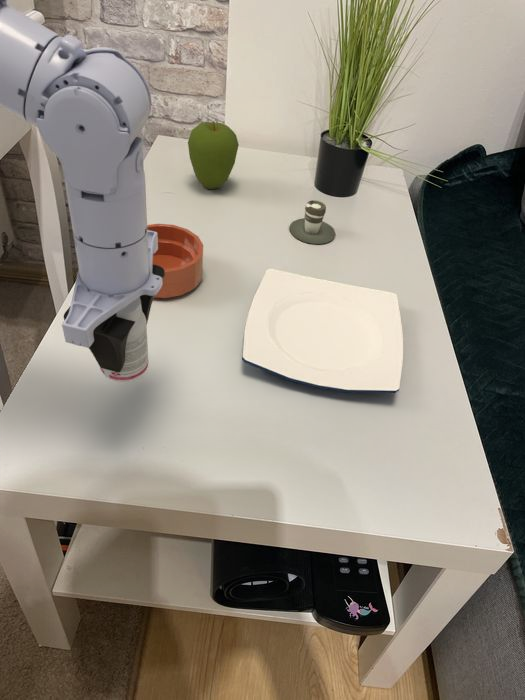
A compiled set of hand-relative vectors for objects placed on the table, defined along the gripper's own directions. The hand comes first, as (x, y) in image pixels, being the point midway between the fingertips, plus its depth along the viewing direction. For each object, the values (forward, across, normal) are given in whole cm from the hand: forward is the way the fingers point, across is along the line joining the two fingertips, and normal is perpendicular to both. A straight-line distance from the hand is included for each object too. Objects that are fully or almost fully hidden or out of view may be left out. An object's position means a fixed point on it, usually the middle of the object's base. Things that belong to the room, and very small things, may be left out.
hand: (122, 349), depth 51 cm
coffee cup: (+10, +44, -13) cm, 47 cm away
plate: (+10, +19, -19) cm, 28 cm away
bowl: (+9, +24, +5) cm, 26 cm away
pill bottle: (+3, 0, 0) cm, 3 cm away
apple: (+10, +51, +6) cm, 52 cm away
